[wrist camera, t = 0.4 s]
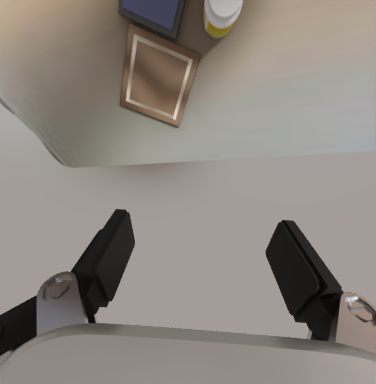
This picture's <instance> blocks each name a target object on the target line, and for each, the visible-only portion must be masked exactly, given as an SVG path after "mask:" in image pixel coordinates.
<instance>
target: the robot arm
mask: <svg viewBox="0 0 376 384" xmlns="http://www.w3.org/2000/svg"><path fill="white" fill-rule="evenodd" d="M134 245H135V240H134V234H133V229H132V224H131V219H130V214H129V212H127V211H126V210H121V209H116V210H115V211H114V213H113V215H112V216H111V217H110V219H109V220H108V222H107V223H106V225H105V226H104V228H103V229H101V230H99V232H98V233H97V234H96V236H95V237H94V238H93V240H92V241H91V243H90V244H89V246H88V247H87V249H86V250H85V251H84V253H83V254H82V256H81V257H80V259H79V260H78V262H77V263H76V264H75V266H74V267H73V269H72V270H71V272H68V271H66V272H61V273H58V274H56V275H54V276H52V277H50V278H49V279H48V280H47V281H45V282H44V283H43V285H42V286H41V287H40V289H39V291H38V294H37V295H36V296H34V297H33V298H31V299H29V300H27V301H25V302H24V303H22V304H20V305H18V306H16V307H14V308H12V309H11V310H9V311H7V312H5V313H3V314H2V315H0V384H376V307H375V306H374V305H372V304H371V303H370V302H369V301H368V300H366V299H365V298H363V297H361V296H359V295H357V294H355V293H351V292H345V293H344V292H343V291H342V290H341V288H342V287H341V286H340V285H339V283H338V282H337V280H336V279H335V278H334V276H333V275H332V273H331V272H330V271H329V270H328V268H327V266H326V265H325V264H324V262H323V261H322V259H321V258H320V257H319V255H318V254H317V253H316V251H315V250H314V248H313V247H312V246H311V244H310V243H309V241H308V240H307V239H306V237H305V236H304V234H303V233H302V232H301V230H300V229H299V228H298V226H297V225H296V223H295V222H294V221H289V220H282V221H281V222H279V223H278V225H277V227H276V229H275V232H274V234H273V236H272V238H271V241H270V243H269V245H268V247H267V249H266V257H267V259H268V262H269V264H270V266H271V269H272V271H273V274H274V276H275V279H276V281H277V284H278V286H279V288H280V291H281V294H282V296H283V298H284V301H285V303H286V306H287V308H288V311H289V313H290V314H291V315H293V316H294V319H295V322H301V323H307V326H308V328H309V331H308V335H307V339H300V338H290V337H278V336H266V335H253V334H243V333H230V332H217V331H205V330H192V329H180V328H179V329H178V328H165V327H152V326H139V325H123V324H122V325H121V324H104V323H98V322H97V318H96V313H97V311H98V309H99V307H107V305H108V303H109V301H112V300H113V298H114V296H115V293H116V291H117V288H118V286H119V283H120V281H121V278H122V275H123V273H124V270H125V268H126V265H127V263H128V261H129V258H130V256H131V253H132V251H133V248H134Z"/></svg>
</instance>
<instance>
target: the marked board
mask: <svg viewBox="0 0 376 384" xmlns="http://www.w3.org/2000/svg"><path fill="white" fill-rule="evenodd" d="M200 56H201V55H199V54H197V53H195V52H192V51H190V50H188V49H186V48H184V47H181V46H179V45H177V44H175V43H173V42H170V41H168V40H166V39H164V38H161V37H159V36H157V35H155V34H153V33H150V32H148V31H146V30H144V29H142V28H139V27H137V26H135V25H133V24H130V23H129V29H128V38H127V47H126V56H125V65H124V74H123V83H122V92H121V101H120V105H123V106H125V107H128V108H131V109H133V110H136V111H139V112H141V113H144V114H146V115H149V116H152V117H154V118H157V119H160V120H162V121H165V122H168V123H170V124H173V125H175V126H178V127H179V125H180V121H181V118H182V115H183V112H184V108H185V105H186V102H187V98H188V95H189V92H190V89H191V85H192V82H193V79H194V76H195V72H196V69H197V66H198V62H199V59H200Z"/></svg>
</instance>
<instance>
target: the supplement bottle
mask: <svg viewBox="0 0 376 384" xmlns="http://www.w3.org/2000/svg"><path fill="white" fill-rule="evenodd" d="M242 4H243V0H205V2H204V16H203V22H204V28H205V30H206V32H207V34H208V35H209V36H210V37H211V38H213V39H221V38H223V37H225V36H226V35H227V34H228V33H229V32H230V31H231V29H232V27H233V25H234V23H235V21H236V20H237V18H238V16H239V14H240V11H241V8H242Z"/></svg>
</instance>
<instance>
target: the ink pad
mask: <svg viewBox="0 0 376 384" xmlns="http://www.w3.org/2000/svg"><path fill="white" fill-rule="evenodd" d="M184 5H185V0H119V11H118V13H119V14H120V15H121V16H123V17H126V18H128V19H130V20H132V21H134V22H137V23H139V24H141V25H143V26H145V27H148V28H150V29H152V30H154V31H156V32H159V33H161V34H163V35H165V36H167V37H170V38H172V39H174V40H176V39H177V35H178V30H179V26H180V22H181V17H182V13H183V9H184Z"/></svg>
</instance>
